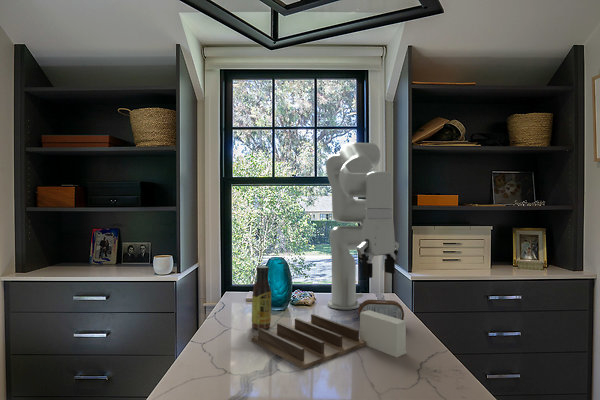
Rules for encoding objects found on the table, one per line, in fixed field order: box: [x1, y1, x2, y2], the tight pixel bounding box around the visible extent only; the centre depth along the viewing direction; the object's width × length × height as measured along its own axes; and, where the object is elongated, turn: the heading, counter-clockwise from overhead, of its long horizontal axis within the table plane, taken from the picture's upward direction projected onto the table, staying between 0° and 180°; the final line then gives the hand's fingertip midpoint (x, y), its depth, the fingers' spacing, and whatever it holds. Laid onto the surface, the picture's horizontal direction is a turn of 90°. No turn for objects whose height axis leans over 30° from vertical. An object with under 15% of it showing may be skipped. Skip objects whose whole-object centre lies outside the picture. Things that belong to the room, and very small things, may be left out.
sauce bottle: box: [251, 265, 272, 330], centre depth 123 cm, size 6×6×20 cm
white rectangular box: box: [359, 310, 407, 358], centre depth 106 cm, size 4×13×9 cm, turn 40°
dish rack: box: [250, 313, 367, 370], centre depth 110 cm, size 24×24×4 cm
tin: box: [357, 299, 405, 320], centre depth 125 cm, size 15×3×8 cm, turn 84°
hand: (378, 274), depth 106 cm, fingers open, 9 cm apart
